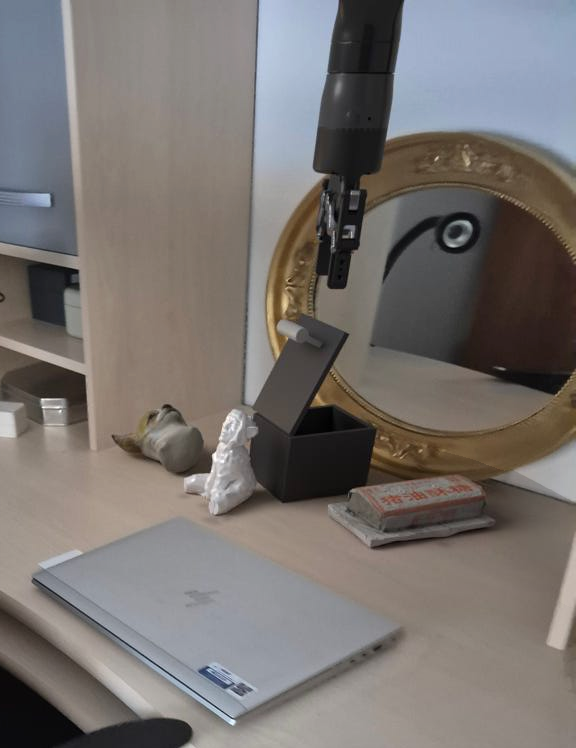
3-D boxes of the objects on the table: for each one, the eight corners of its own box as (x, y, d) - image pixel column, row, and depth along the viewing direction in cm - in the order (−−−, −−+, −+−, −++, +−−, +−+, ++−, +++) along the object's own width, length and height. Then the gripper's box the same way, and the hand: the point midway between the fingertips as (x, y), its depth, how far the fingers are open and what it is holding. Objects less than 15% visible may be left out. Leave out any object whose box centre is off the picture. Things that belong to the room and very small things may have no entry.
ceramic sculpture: (160, 421, 111) (106, 397, 123) (159, 483, 115) (107, 455, 127) (226, 410, 115) (168, 387, 127) (222, 470, 120) (167, 444, 131)
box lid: (306, 315, 109) (276, 299, 107) (349, 334, 101) (319, 318, 98) (255, 410, 114) (227, 397, 112) (293, 436, 106) (263, 423, 104)
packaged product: (451, 463, 109) (504, 493, 101) (443, 498, 112) (494, 529, 104) (330, 480, 105) (376, 512, 97) (324, 515, 107) (368, 550, 99)
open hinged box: (325, 463, 122) (334, 403, 117) (365, 491, 114) (377, 428, 109) (247, 473, 119) (253, 412, 114) (282, 502, 111) (290, 438, 106)
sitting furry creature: (179, 489, 114) (184, 403, 108) (233, 480, 117) (241, 394, 111) (213, 517, 107) (221, 425, 100) (270, 506, 110) (282, 416, 103)
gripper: (403, 126, 86) (374, 294, 95) (373, 121, 97) (349, 271, 106) (329, 125, 86) (306, 293, 95) (308, 121, 98) (290, 270, 107)
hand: (329, 281), depth 101 cm, fingers open, 8 cm apart
